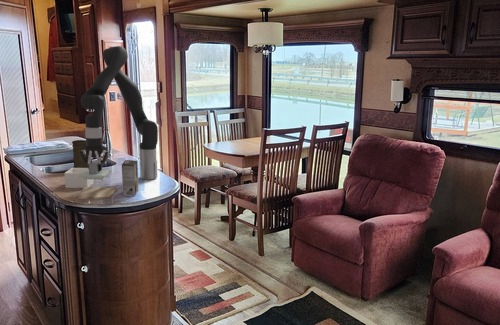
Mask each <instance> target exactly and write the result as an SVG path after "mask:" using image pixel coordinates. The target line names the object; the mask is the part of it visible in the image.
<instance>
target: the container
mask: <svg viewBox="0 0 500 325" xmlns="http://www.w3.org/2000/svg"><path fill="white" fill-rule="evenodd" d="M71 144H72V154H73V167H72V168H88V163H85V162H84V161H83V158H82V156H81V154H80V151H82V150H85V149H86V139H77V140H76V139H74V140H72V141H71ZM86 157H87V158H88V154H87V152H86Z"/></svg>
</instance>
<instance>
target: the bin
mask: <svg viewBox="0 0 500 325" xmlns="http://www.w3.org/2000/svg"><path fill="white" fill-rule="evenodd" d="M86 169H88V168H73V167H71V168H70V169H68V170H67V171H65V172H64V182H65V183H64V184H65V189H84V188H85V187H91V186H92V185H93V184H94V183H95V182H94V180H93V179H84V177H79V174H81V173H82V172H84V171H85V170H86Z"/></svg>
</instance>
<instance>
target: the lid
mask: <svg viewBox="0 0 500 325" xmlns="http://www.w3.org/2000/svg"><path fill="white" fill-rule="evenodd" d="M111 172H112V169H103V168H102V170H101V171H98V160H92V162H91V163H90V164H89V169H86V170H85V171H84V172H82V173H81V174H79V177H84V179H93V180H96V181H98V180H99V181H100V180H101V181H102V180H104V179H105V178H106V177H107V176H108V175H109V174H110V173H111Z"/></svg>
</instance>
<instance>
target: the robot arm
mask: <svg viewBox="0 0 500 325" xmlns="http://www.w3.org/2000/svg"><path fill="white" fill-rule="evenodd" d="M102 58H103V61H104V63H105V65H106V67H105V68H104V69H103V70H102V71H101V72H100V73H99V74H98V75H97V76H96V77H95V79H94V82H93V84H92V85H91V87H89V88H88V89H87V90H86V91H85V92H84V93H83V94H82V96H81V98H80V105H81V107H82V109H86V110H93V112H92V113H91V114H87V115H86V116H85V135H84V136H85V140H86V149H85V150H82V151H80V154H81V156H82V158H83V161H84V162H85V163H88V169H89V164H90V163H91V162H92V161H93V158H96V161H98V171H101V170H102V169H103V164H104V163H106V161H107V160H108V156H109V155H110V151H109V150H105V149H104V147H103V146H104V145H103V144H104V143H103V130H102V116H103V112H104V108H105V99H104V97H105V95H106V94H107V91H108V90H109V88H110V85H111V84H112V82H113V80H114V81H115V82H116V85H117V87H118V89H119V91H120V94H121V96H122V99H123V100H124V102H125V105H126V106H127V108H128V111H129V113H130V115H131V117H132V120H133V122H134V125H135V128H136V131H137V133H139V134H140V135H141V136H142V140H141V142H140V143H139V176H140V179H141V180H146V181H148V180H156V179H157V177H158V159H157V145H158V139H159V137H158V136H159V130H158V128H159V127H158V125H157V122H155V121H153V120H149V119H148V117H147V114H146V113H145V111H144V107H143V106H144V105H143V98H142V94H141V92H140V89H139V87H138V85H137V84H136V83H135V82H134V80H132V79H131V77H129V76H128V75H127V74H125V72H124V71H123V69H122V68H123V67H124V65H125V64H126V62H127V60H128V52H127V49H126V48H125V47H123V46H119V45H118V46H117V45H116V46H113V47H108V48H105V49H104V50H103V52H102ZM103 96H104V97H103ZM86 152H87V157H86ZM102 154H103V158H102Z"/></svg>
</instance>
